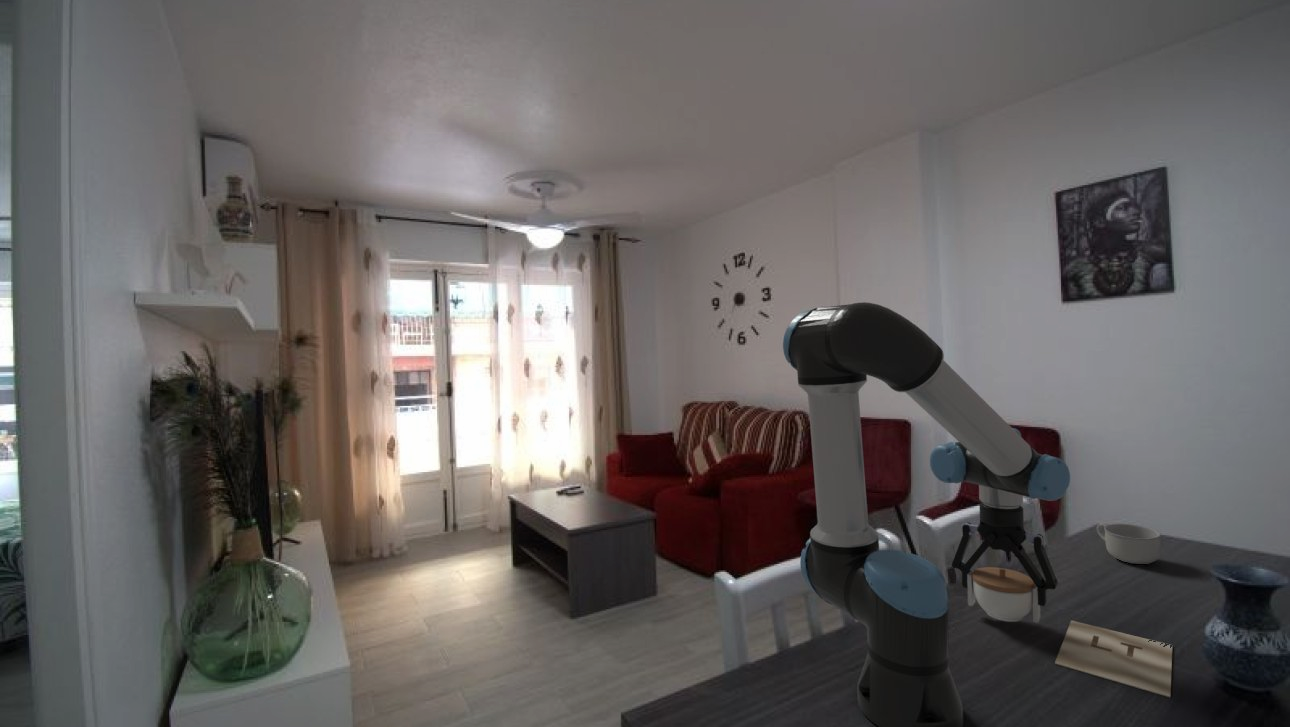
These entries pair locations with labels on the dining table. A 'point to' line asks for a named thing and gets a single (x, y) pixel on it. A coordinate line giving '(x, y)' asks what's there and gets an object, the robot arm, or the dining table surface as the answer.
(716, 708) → the dining table surface
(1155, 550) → the teacup
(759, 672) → the dining table surface
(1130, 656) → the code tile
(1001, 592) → the lidded jar
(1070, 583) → the dining table surface
